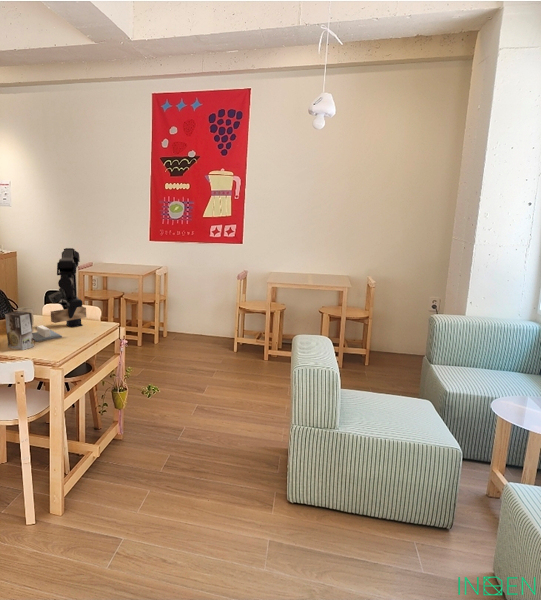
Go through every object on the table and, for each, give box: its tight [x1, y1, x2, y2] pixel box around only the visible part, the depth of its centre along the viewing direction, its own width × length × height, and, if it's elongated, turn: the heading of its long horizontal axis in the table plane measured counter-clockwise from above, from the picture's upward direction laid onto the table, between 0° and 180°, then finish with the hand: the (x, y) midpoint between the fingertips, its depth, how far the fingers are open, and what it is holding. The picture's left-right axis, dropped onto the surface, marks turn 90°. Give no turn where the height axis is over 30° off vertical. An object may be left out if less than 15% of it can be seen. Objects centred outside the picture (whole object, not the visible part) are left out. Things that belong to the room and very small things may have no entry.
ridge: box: [33, 324, 63, 343], centre depth 219 cm, size 12×14×4 cm
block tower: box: [16, 306, 35, 328], centre depth 234 cm, size 8×8×29 cm
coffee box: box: [4, 310, 35, 351], centre depth 201 cm, size 9×6×16 cm
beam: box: [50, 306, 87, 324], centre depth 215 cm, size 16×4×5 cm, turn 143°
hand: (69, 317), depth 215 cm, fingers closed on beam, 4 cm apart
